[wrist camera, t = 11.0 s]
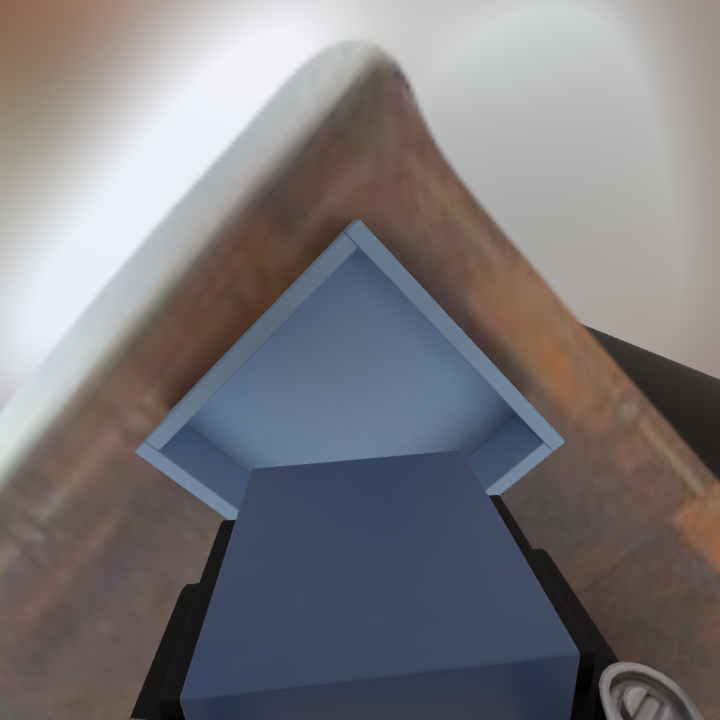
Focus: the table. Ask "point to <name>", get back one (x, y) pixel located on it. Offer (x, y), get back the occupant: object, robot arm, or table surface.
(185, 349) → the table surface
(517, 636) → the blue block
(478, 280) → the table surface
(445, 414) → the blue bin
